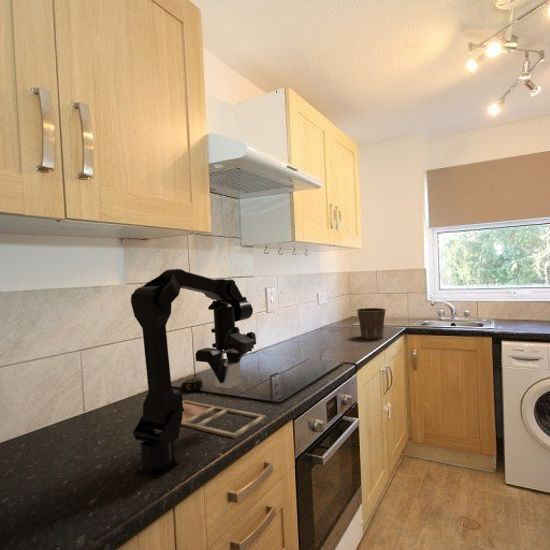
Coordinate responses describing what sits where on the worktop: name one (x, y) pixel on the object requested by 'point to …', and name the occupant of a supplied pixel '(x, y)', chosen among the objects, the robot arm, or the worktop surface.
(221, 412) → the rectangular frame with crossbars
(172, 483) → the worktop surface
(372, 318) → the plant pot
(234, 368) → the metal block
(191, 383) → the tape measure
